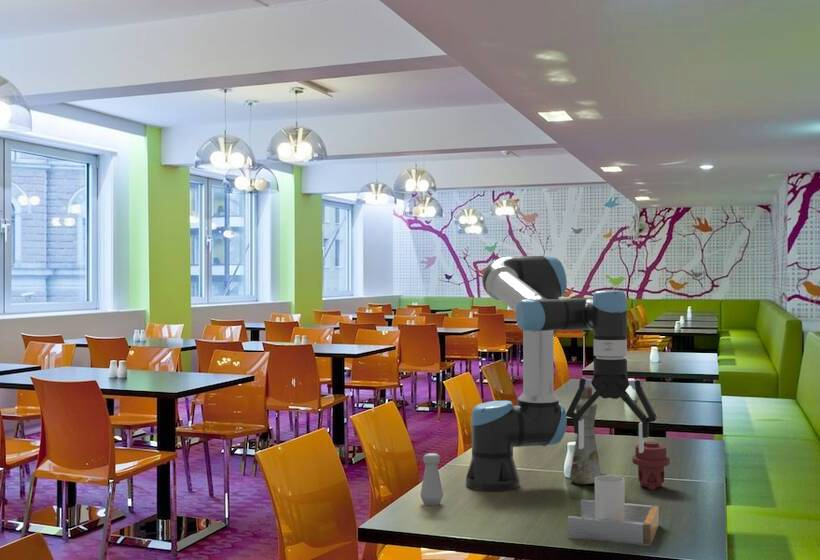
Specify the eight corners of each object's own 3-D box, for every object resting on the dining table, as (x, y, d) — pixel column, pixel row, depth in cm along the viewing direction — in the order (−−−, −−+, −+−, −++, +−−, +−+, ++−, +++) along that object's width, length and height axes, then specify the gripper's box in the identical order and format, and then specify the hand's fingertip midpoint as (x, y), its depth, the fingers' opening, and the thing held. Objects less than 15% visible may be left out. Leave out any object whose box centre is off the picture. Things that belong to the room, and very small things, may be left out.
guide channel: (567, 537, 194) (567, 517, 194) (582, 518, 209) (581, 499, 209) (650, 546, 187) (650, 525, 187) (658, 525, 203) (658, 506, 203)
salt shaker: (427, 507, 220) (426, 457, 220) (416, 502, 225) (416, 453, 225) (447, 505, 223) (446, 454, 223) (436, 500, 228) (435, 451, 228)
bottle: (582, 487, 240) (581, 387, 240) (563, 480, 248) (563, 383, 248) (608, 484, 244) (607, 385, 244) (589, 477, 252) (588, 382, 252)
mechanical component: (668, 483, 244) (671, 491, 234) (631, 482, 246) (633, 490, 236) (667, 439, 244) (671, 446, 234) (631, 438, 246) (633, 445, 236)
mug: (625, 536, 193) (625, 482, 193) (595, 534, 194) (594, 481, 194) (623, 523, 203) (623, 472, 203) (594, 522, 204) (594, 471, 204)
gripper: (553, 357, 200) (553, 449, 200) (664, 360, 190) (665, 456, 190) (560, 355, 207) (560, 443, 207) (668, 357, 197) (668, 450, 197)
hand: (611, 450), depth 199 cm, fingers open, 13 cm apart
